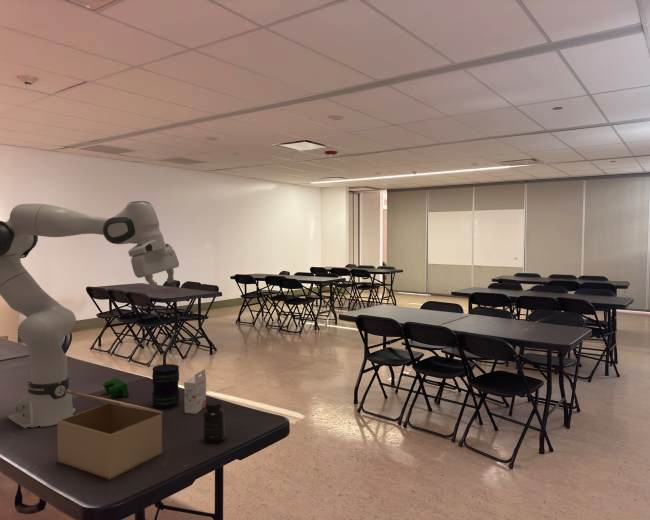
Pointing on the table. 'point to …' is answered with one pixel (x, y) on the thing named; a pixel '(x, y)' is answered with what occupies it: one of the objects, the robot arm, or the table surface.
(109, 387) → the green bumpy lump
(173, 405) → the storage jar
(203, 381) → the ink cartridge box
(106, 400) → the flap
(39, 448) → the table surface
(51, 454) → the table surface
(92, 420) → the carton
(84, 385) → the table surface
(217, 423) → the supplement bottle
